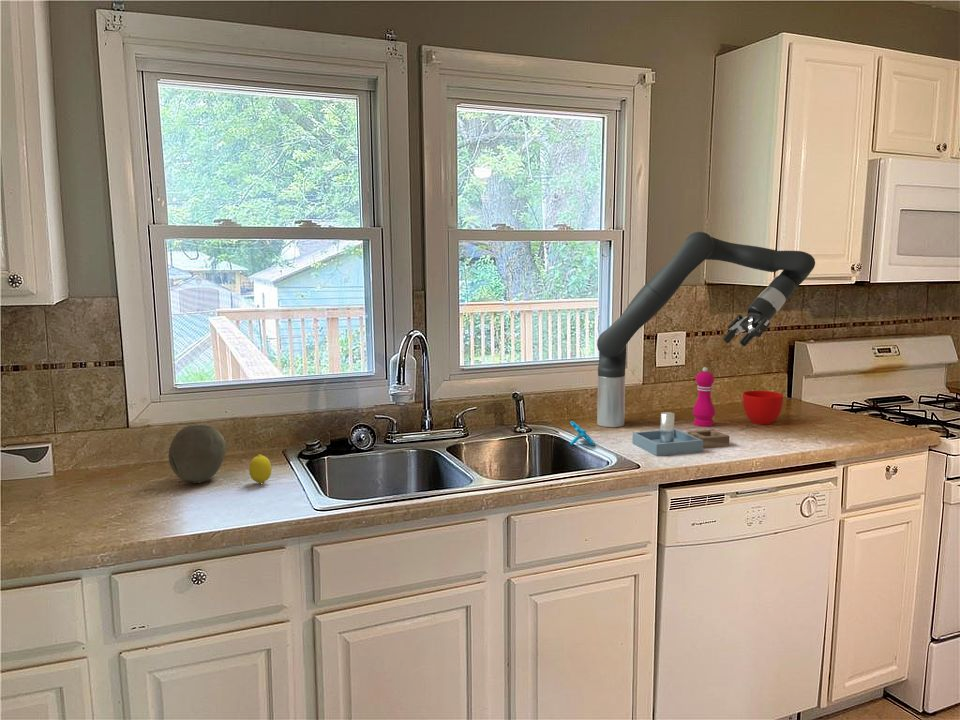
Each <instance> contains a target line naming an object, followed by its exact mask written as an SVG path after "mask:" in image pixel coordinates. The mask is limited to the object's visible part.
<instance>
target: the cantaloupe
mask: <svg viewBox="0 0 960 720" xmlns="http://www.w3.org/2000/svg"><path fill="white" fill-rule="evenodd" d="M226 446H227V445H226V440H225V438H224V436H223V435H222V434H221V433H220V431H218V429H216V428H215V427H214V426H210V425H205V424H195V425H187V426H185V427H184V428H181V429H179V431H178V432H177V433H175V435H174V437H173V439H172V440H171V443H170V445H169V449H168V464H169V465H170V468H171V470H172V472H173V473H174V475H176V476H177V477H178V478H179V480H182V481H183V482H189V483H192V482H195V483H194V484H200V483H199V482H202V483H204V482H206V481H208V480H209V479H211V478H213V476H215V475H216V474H217V473H218V471H219V469H220V468H221V466H222V464H223V462H224V458H225V455H226V450H227V449H226V448H227V447H226Z"/></svg>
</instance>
